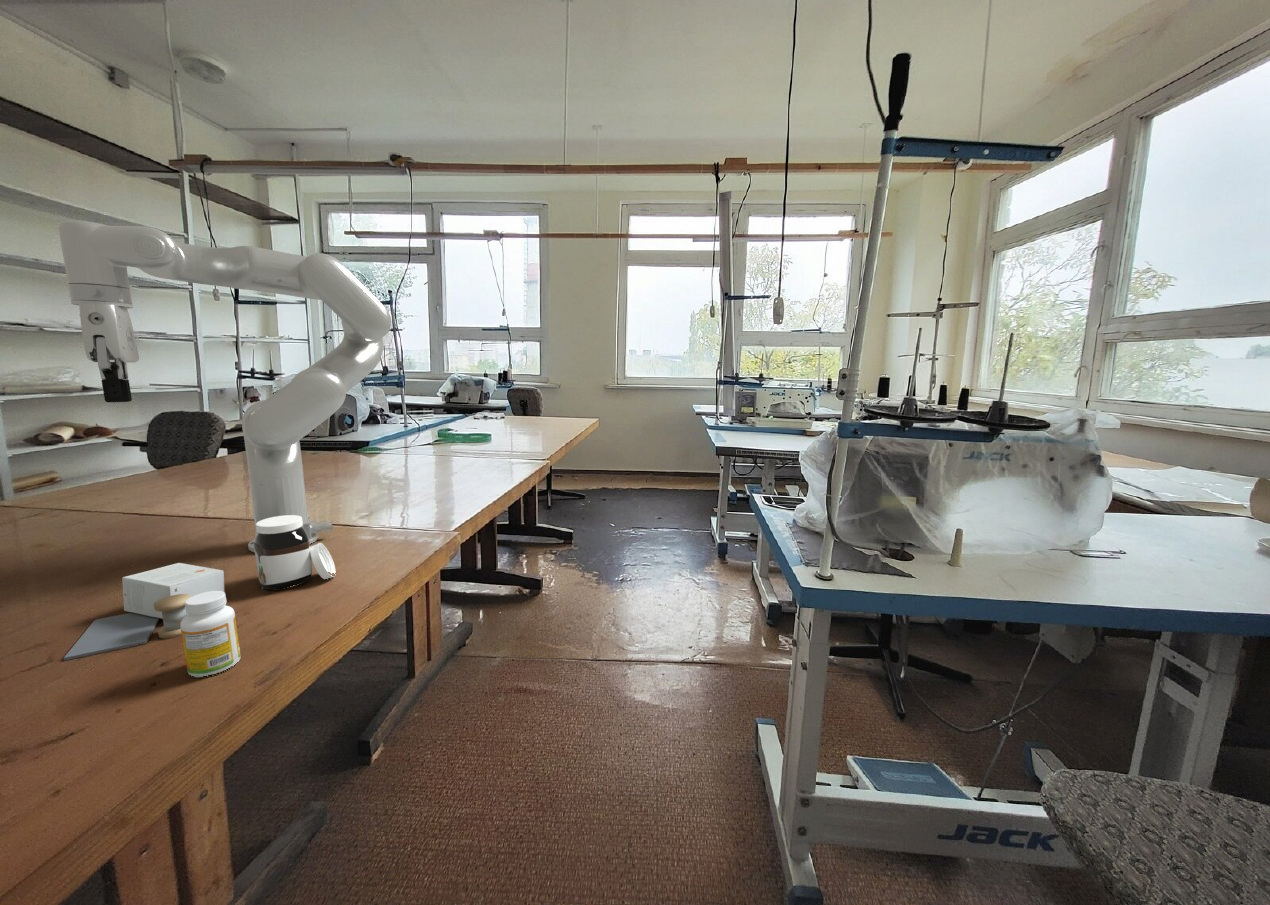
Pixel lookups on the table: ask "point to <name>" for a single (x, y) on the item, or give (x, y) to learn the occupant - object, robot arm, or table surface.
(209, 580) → the small box
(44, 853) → the table surface
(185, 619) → the supplement bottle
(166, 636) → the thread spool
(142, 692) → the table surface
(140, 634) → the felt mat
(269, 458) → the robot arm
